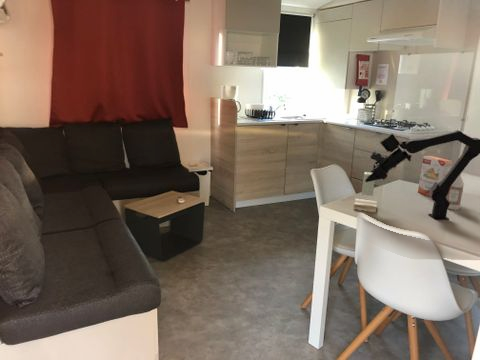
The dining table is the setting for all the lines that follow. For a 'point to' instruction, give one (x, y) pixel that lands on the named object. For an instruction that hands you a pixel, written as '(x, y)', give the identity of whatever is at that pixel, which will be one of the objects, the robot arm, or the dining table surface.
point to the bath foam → (455, 194)
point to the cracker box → (432, 172)
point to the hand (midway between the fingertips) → (365, 180)
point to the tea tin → (367, 185)
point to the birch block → (365, 205)
